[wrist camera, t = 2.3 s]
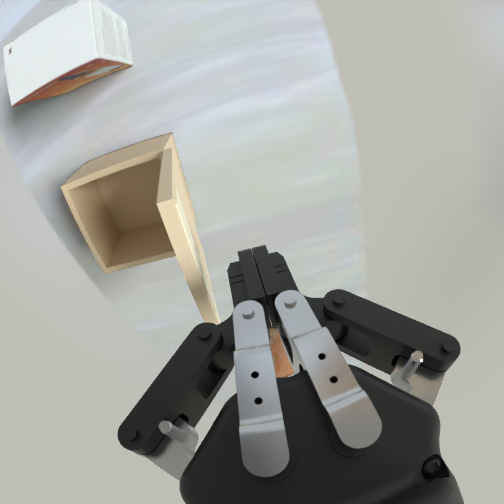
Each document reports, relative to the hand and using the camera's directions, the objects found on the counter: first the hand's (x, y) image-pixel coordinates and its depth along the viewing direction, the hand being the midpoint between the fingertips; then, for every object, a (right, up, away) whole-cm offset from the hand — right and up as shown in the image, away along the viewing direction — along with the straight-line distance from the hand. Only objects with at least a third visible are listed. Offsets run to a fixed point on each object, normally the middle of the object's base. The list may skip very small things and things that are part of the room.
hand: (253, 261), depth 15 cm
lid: (-5, +1, +3) cm, 6 cm away
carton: (-12, +7, +13) cm, 19 cm away
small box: (-16, +20, +3) cm, 25 cm away
